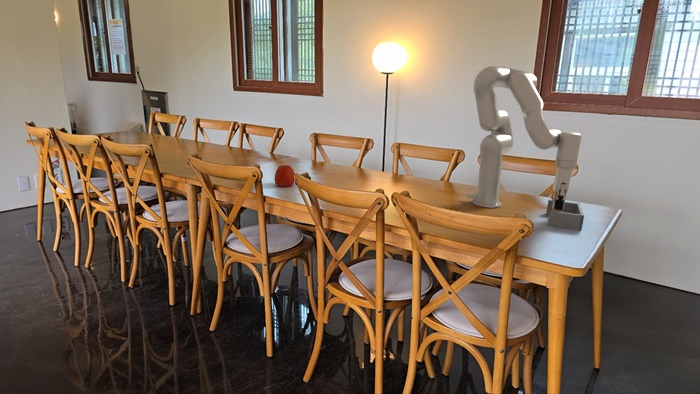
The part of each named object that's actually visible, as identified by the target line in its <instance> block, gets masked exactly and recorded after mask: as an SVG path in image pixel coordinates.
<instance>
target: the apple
mask: <svg viewBox="0 0 700 394" xmlns="http://www.w3.org/2000/svg"><path fill="white" fill-rule="evenodd" d="M294 175H295V176H296V173H295V170H294V169H293V167H292V166H290V165H289V164H288V165H287V164H286V165H284V164H283V165H282V164H281V165H279V166H278V167H277V169H276V171H275V173H274V182H275V184H276V185H277V186H278V187H280V188H289V187H292V186H293V185H294V184H295V182H294Z"/></svg>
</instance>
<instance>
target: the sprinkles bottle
mask: <svg viewBox="0 0 700 394" xmlns="http://www.w3.org/2000/svg"><path fill="white" fill-rule="evenodd" d="M559 192H560V191H559ZM559 195H560V194H559ZM556 198H557V192H554V195H553V199H552V200H553V204H552V210H551V211H557V212H563V210H557V209H554V205H555V199H556ZM566 199H567V193H566V194H565V197H564V204H565V202H566ZM563 209H564V205H563Z"/></svg>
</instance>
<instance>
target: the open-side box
mask: <svg viewBox="0 0 700 394" xmlns="http://www.w3.org/2000/svg"><path fill="white" fill-rule="evenodd" d="M552 204H553V199H548V201H547V207H546V212H545V213H546V214H547V215H548V219H547V226H548V227H554V228H562V229H569V230H573V231H574V230H575V231H582V229H583V224H584V218H585V214H584V211H583V209H582V207H581V203H579V202H570V201H565V204H564V209H563V212H557V211H551V210H552Z"/></svg>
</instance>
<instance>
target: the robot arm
mask: <svg viewBox="0 0 700 394" xmlns="http://www.w3.org/2000/svg"><path fill="white" fill-rule="evenodd" d="M537 86H538V79H537V76H535V74H533V73H531V72H529V71H528V72H527V71H523V70H519V69H516V68H511V67H506V66H500V65H499V66H498V65H492V66H491V65H490V66H486V67H485V68H483V69H481V70H480V71H478V74H477V75H476V77H475V79H474V81H473V92H474V98H475V102H476V110H477V116H478V121H479V122H478V123H479V126H480V128H481V129H482V131H486V132H490V134H488V135H486V136H484V137H483V139H482V140H481V142H480V145H479V154H480V155H479V156H480V157H479V159H480V160H479V161H480V162H479V169H478V179H477V190H476V192H466V194H465V195H466V198H470V199H472V201H471V202H472V204H473V205H475V206H478V207H482V208H493V209H494V208H499V207H501V206H502V202H501V201H500V200H499V196H500V188H501V182H502V181H501V180H502V174H503V173H502V172H503V155H504V154H506V153H508V152H509V151H511V150H512V148H513V145H514V137H513V130H512V123H511V118H510V116H509V114H508V112H507V111H506V110H504V109H503V108H499V106H498V99H497V96H496V93H495V91H494V88H505V89H508V90H510V92H511V93H512V96H513V97H514V99H515V100H516V102H517V105H518V106H519V109H520V111H521V113H522V115H523V122H524V126H525V129H526V132H527V134H528V136H529V138H530V139H531V142H532V143H533V144H534V146H535V147H536V148H538V149H539V150H542V151H543V150H544V151H545V150H549V149H554V148H557V150H556V158H555V162H554V167H555V168H556V172H555V175H554V179H553V180H554V181H553V186H552V189H553V192H554V193H555V192H557V198H556V199H555V205H554V209H557V210H563V205H564V197H565V194H566V195H567V194H568V192H569V188H570V184H571V178H572V172H573V170H576V169H577V163H578V157H579V151H580V148H581V143H582V135H581V133H579V132H575V131H574V132H573V131H563V130H561V129H560V130H559V129H556V128H550V129H549V128H548V126H547V124H546V122H545V120H544V117H543V108H544V101H543V99H542V98H541V96H540V94H539V92H538V91H537ZM559 191H560V192H559ZM559 194H560V195H559Z"/></svg>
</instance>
